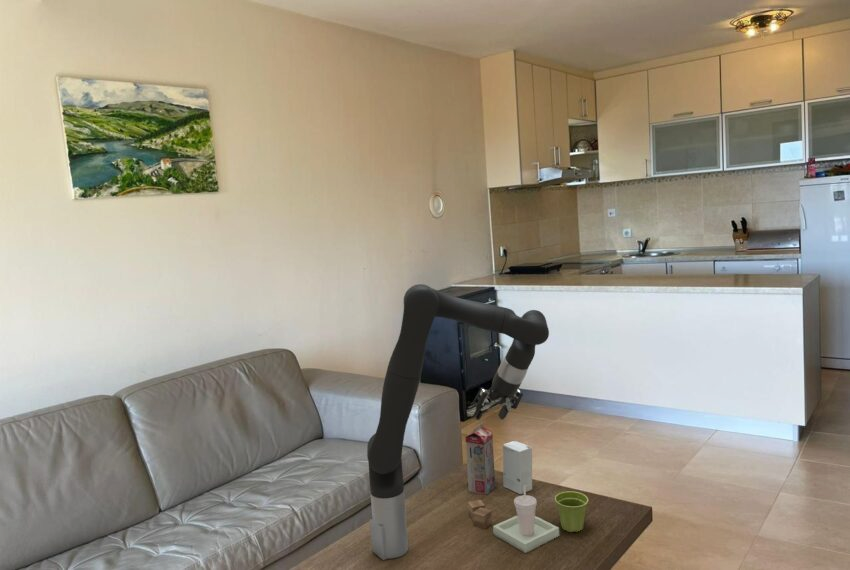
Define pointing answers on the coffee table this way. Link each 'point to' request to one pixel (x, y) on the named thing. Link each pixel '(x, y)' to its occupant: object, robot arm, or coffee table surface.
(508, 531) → the dish
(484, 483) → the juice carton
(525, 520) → the smoothie
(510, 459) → the skincare box
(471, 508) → the walnut block
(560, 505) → the plant pot
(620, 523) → the coffee table surface
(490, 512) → the walnut block
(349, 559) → the coffee table surface
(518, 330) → the robot arm
